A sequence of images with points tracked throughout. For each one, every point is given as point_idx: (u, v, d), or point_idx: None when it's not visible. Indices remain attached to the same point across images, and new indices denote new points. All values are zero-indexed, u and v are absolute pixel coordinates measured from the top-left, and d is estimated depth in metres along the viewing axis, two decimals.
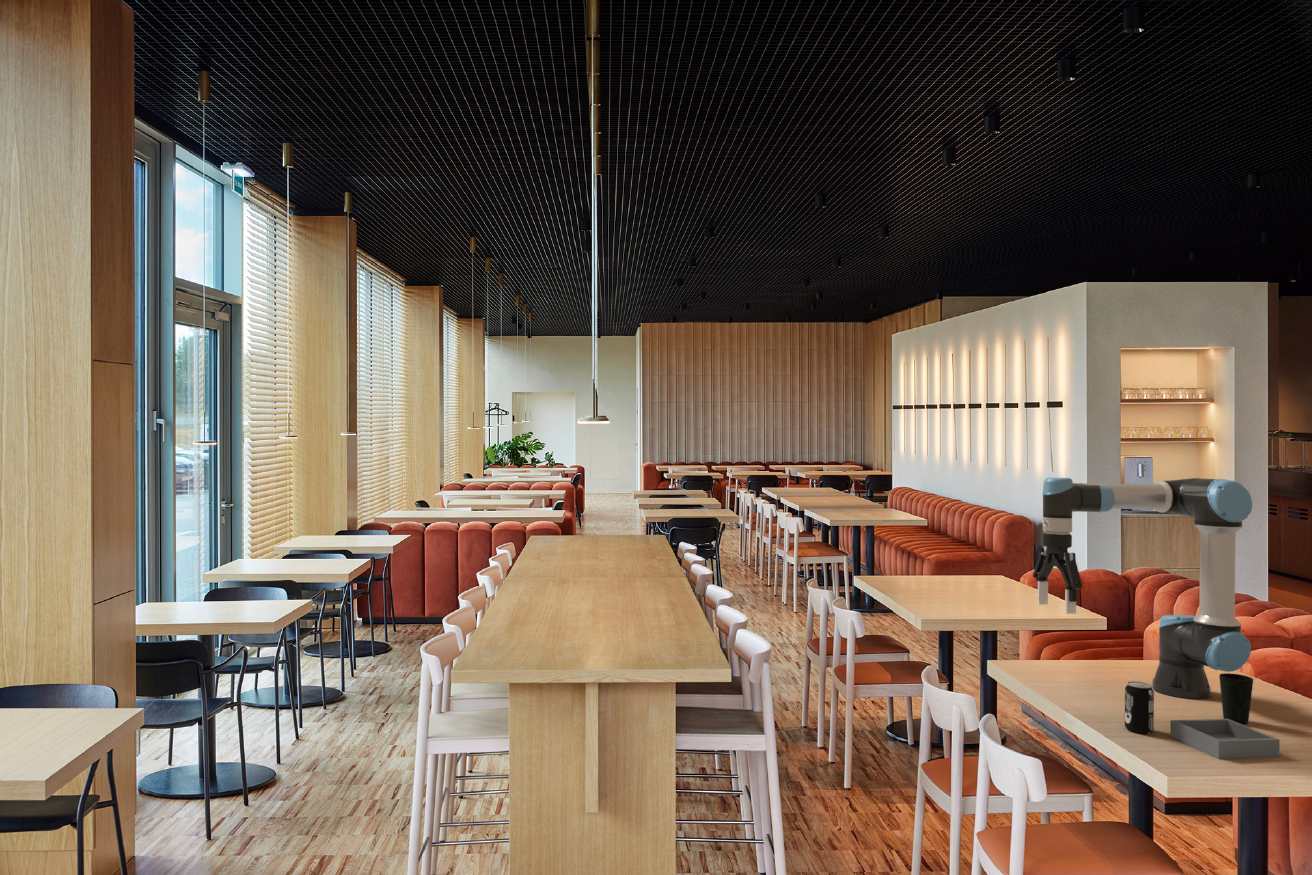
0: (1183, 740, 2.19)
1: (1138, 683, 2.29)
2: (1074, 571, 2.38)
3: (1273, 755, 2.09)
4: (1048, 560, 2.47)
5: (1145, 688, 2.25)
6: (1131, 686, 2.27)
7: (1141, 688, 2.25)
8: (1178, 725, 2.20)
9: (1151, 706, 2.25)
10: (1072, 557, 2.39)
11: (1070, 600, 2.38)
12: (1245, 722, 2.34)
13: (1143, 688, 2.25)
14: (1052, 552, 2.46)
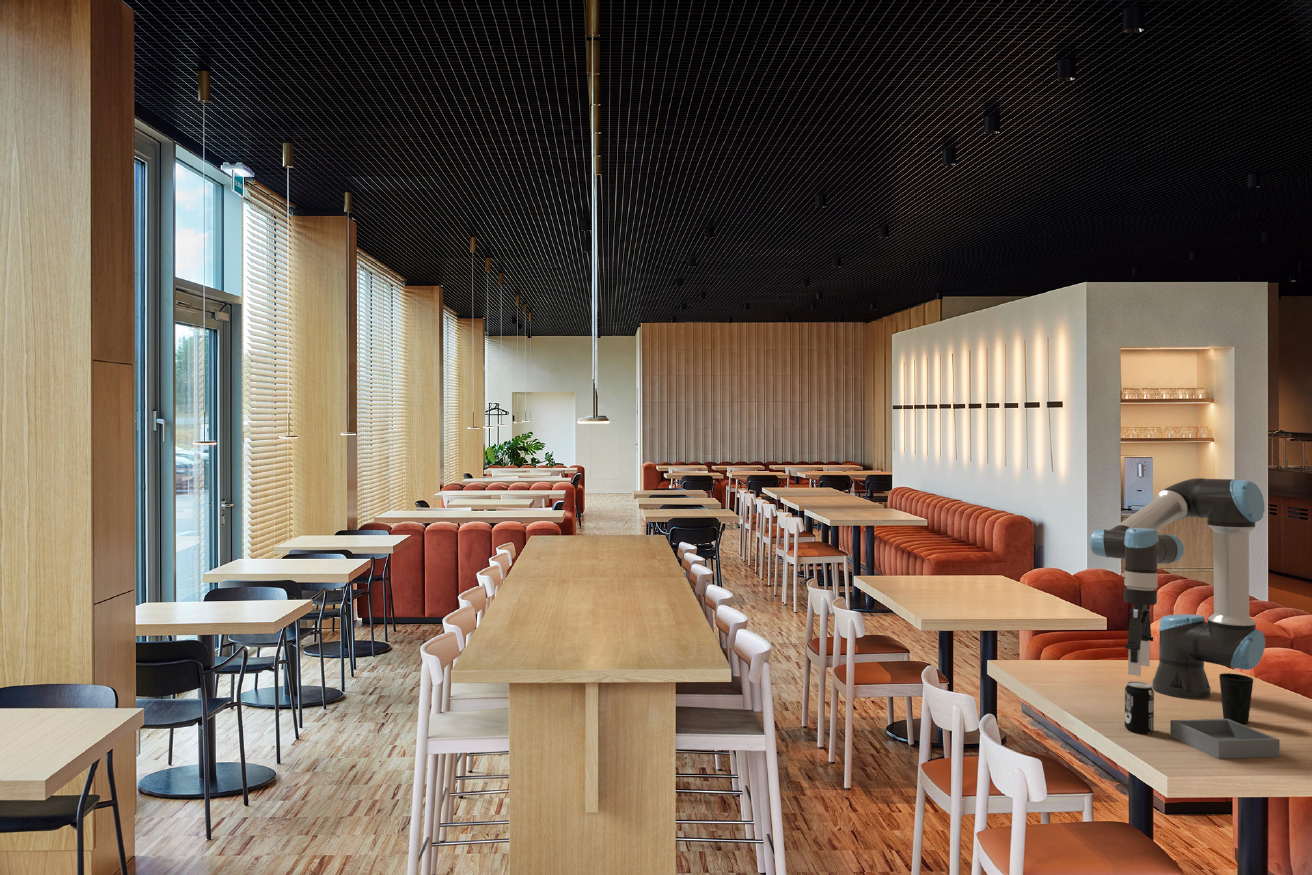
0: (1183, 740, 2.19)
1: (1138, 683, 2.29)
2: (1134, 629, 2.21)
3: (1273, 755, 2.09)
4: None
5: (1145, 688, 2.25)
6: (1131, 686, 2.27)
7: (1141, 688, 2.25)
8: (1178, 725, 2.20)
9: (1151, 706, 2.25)
10: (1136, 615, 2.22)
11: None
12: (1245, 722, 2.34)
13: (1143, 688, 2.25)
14: None
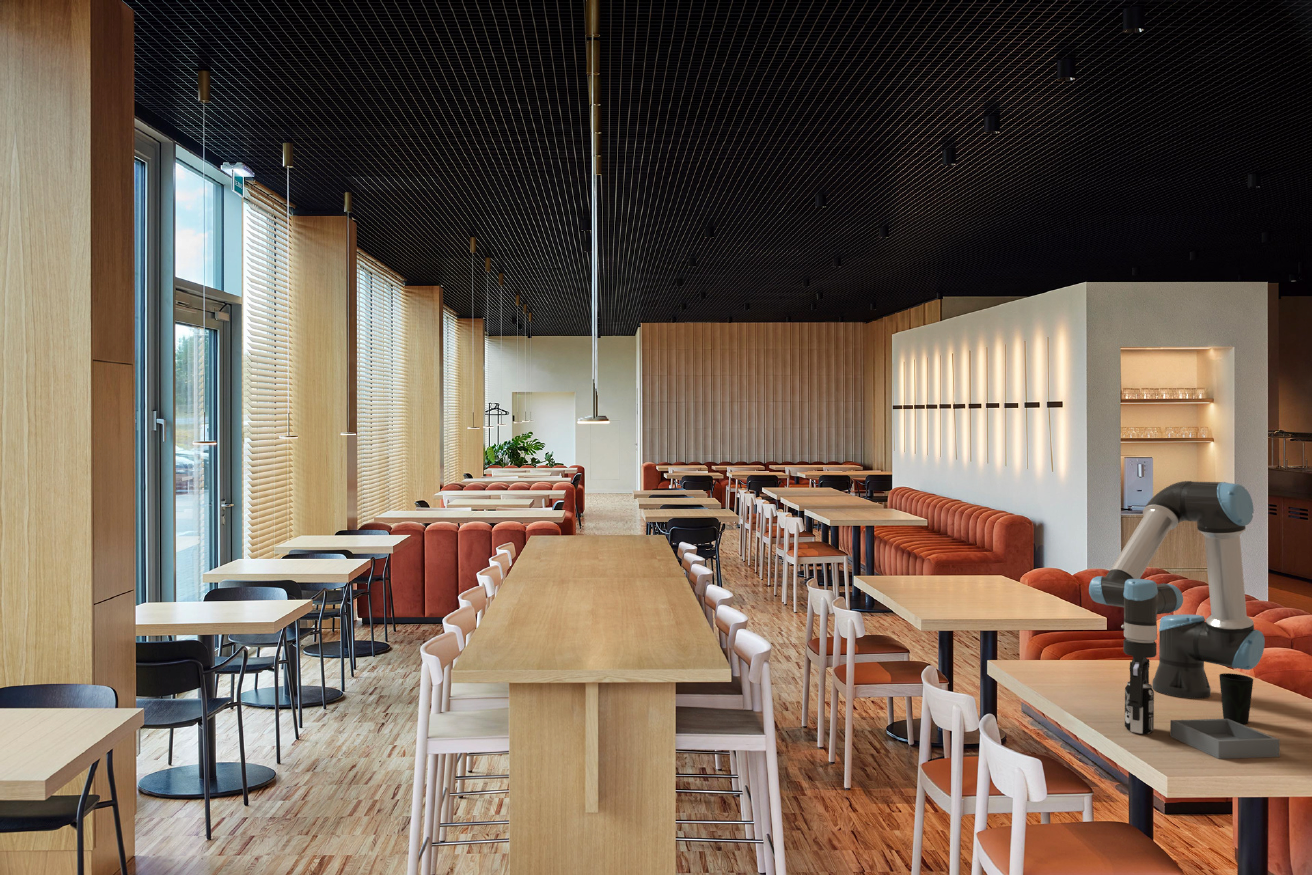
0: (1183, 740, 2.19)
1: None
2: (1135, 688, 2.22)
3: (1273, 755, 2.09)
4: None
5: (1145, 688, 2.25)
6: None
7: None
8: (1178, 725, 2.20)
9: (1151, 706, 2.25)
10: (1136, 673, 2.22)
11: None
12: (1245, 722, 2.34)
13: (1143, 688, 2.25)
14: None
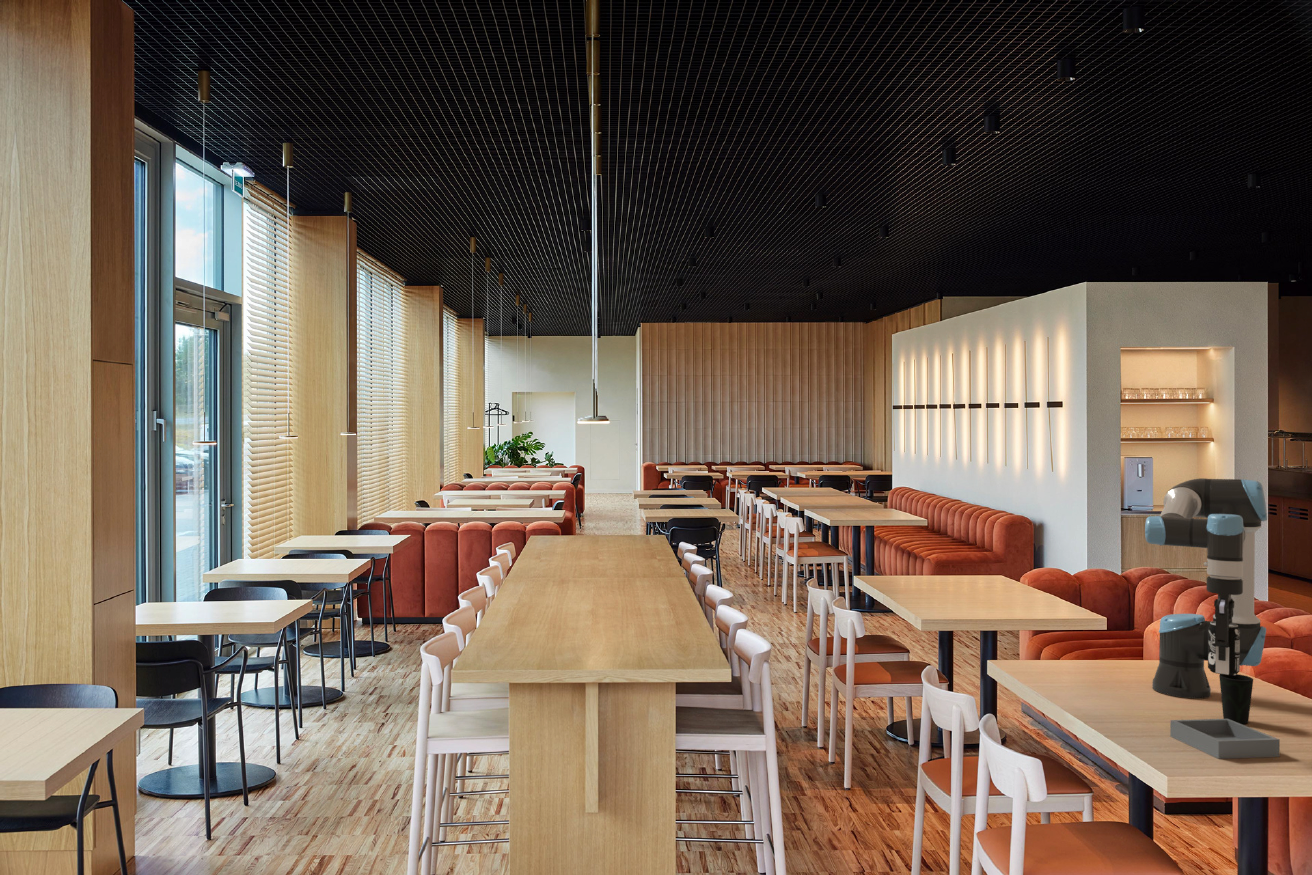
0: (1183, 740, 2.19)
1: None
2: (1221, 626, 2.11)
3: (1273, 755, 2.09)
4: None
5: (1231, 627, 2.14)
6: None
7: None
8: (1178, 725, 2.20)
9: (1237, 646, 2.14)
10: (1223, 610, 2.11)
11: None
12: (1245, 722, 2.34)
13: (1229, 627, 2.14)
14: None
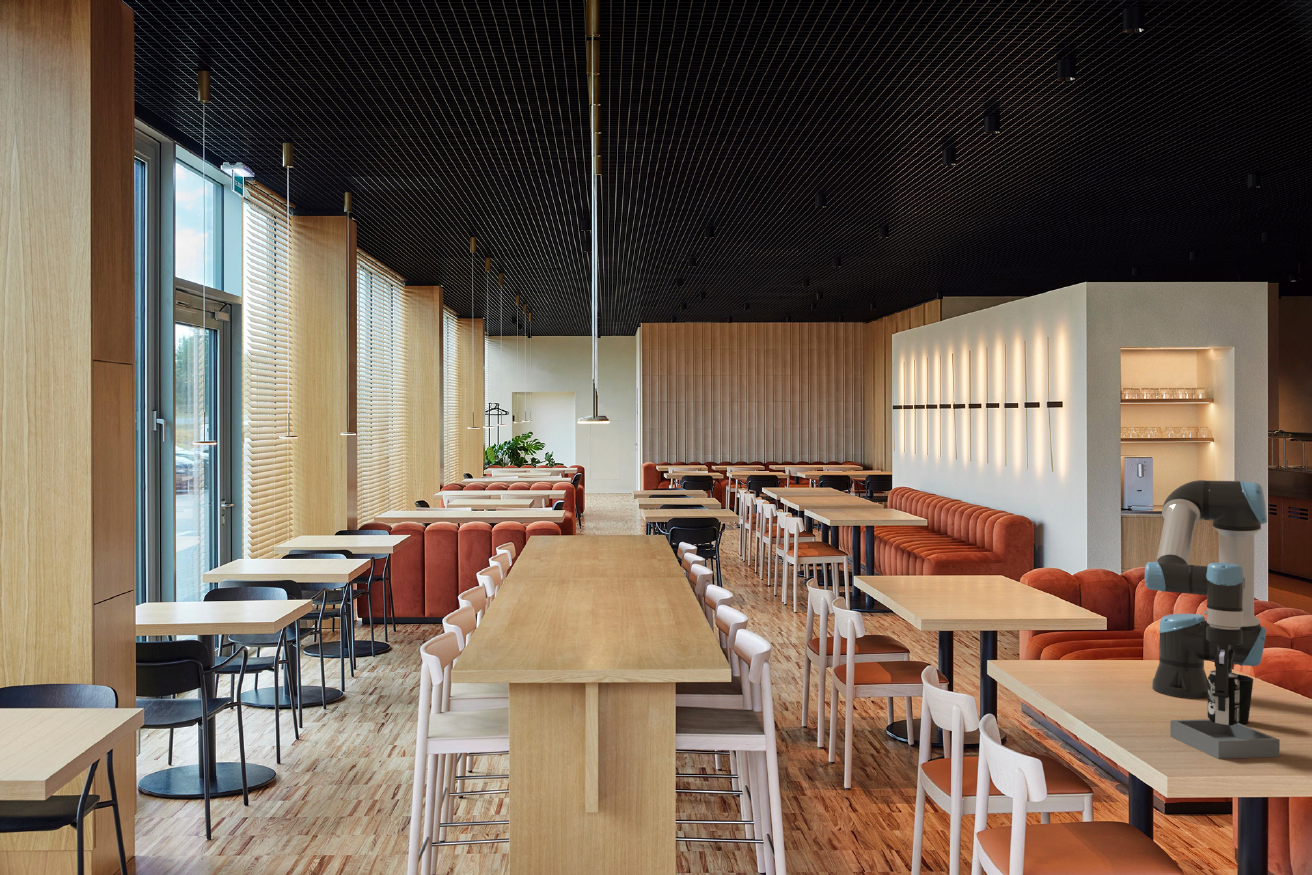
0: (1183, 740, 2.19)
1: None
2: (1221, 677, 2.11)
3: (1273, 755, 2.09)
4: None
5: (1231, 677, 2.14)
6: None
7: None
8: (1178, 725, 2.20)
9: (1237, 696, 2.13)
10: (1223, 661, 2.11)
11: (1218, 708, 2.13)
12: (1245, 722, 2.34)
13: (1229, 677, 2.14)
14: None
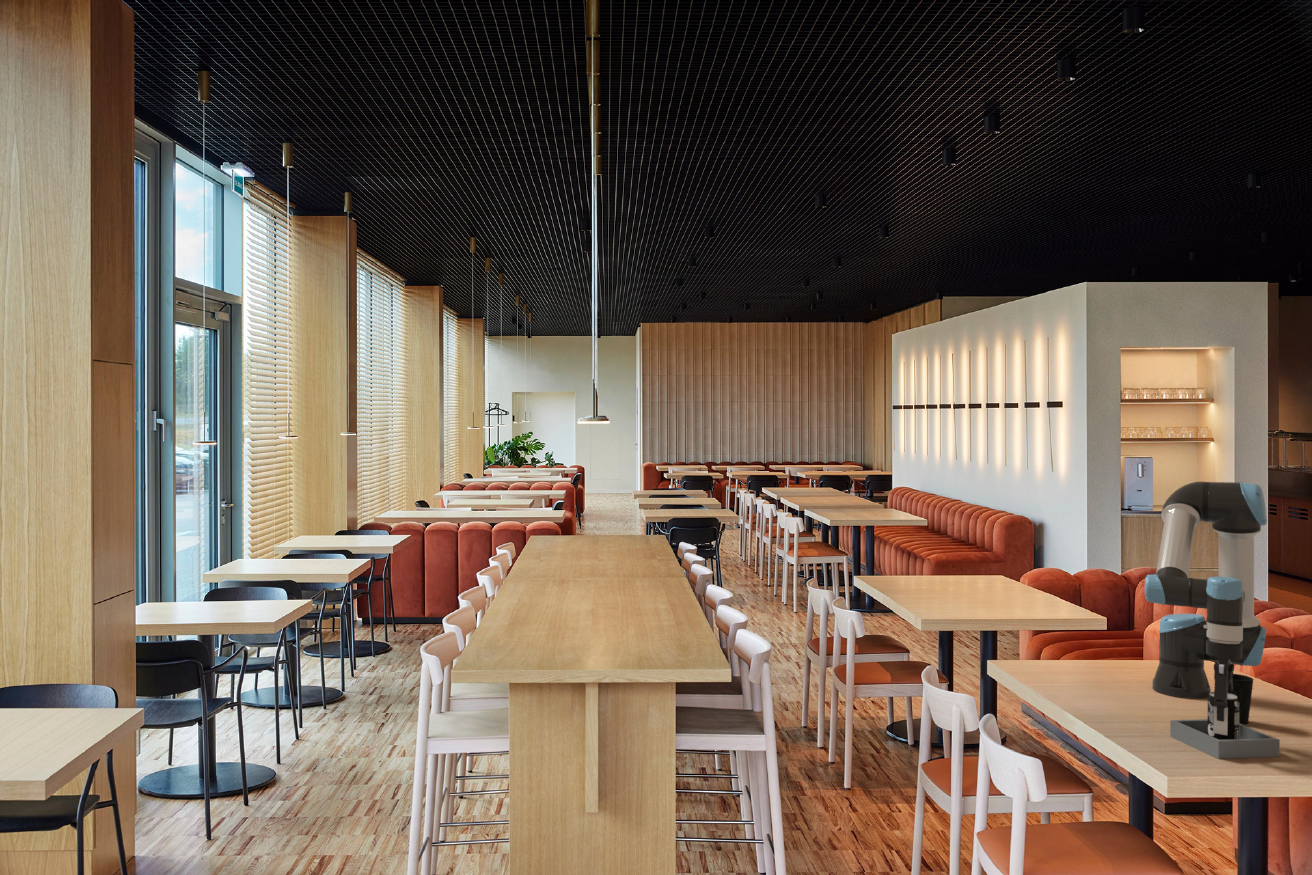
0: (1183, 740, 2.19)
1: None
2: (1220, 686, 2.10)
3: (1273, 755, 2.09)
4: None
5: (1230, 699, 2.13)
6: None
7: None
8: (1178, 725, 2.20)
9: (1237, 718, 2.13)
10: (1222, 670, 2.11)
11: (1217, 718, 2.11)
12: (1245, 722, 2.34)
13: (1228, 699, 2.13)
14: None
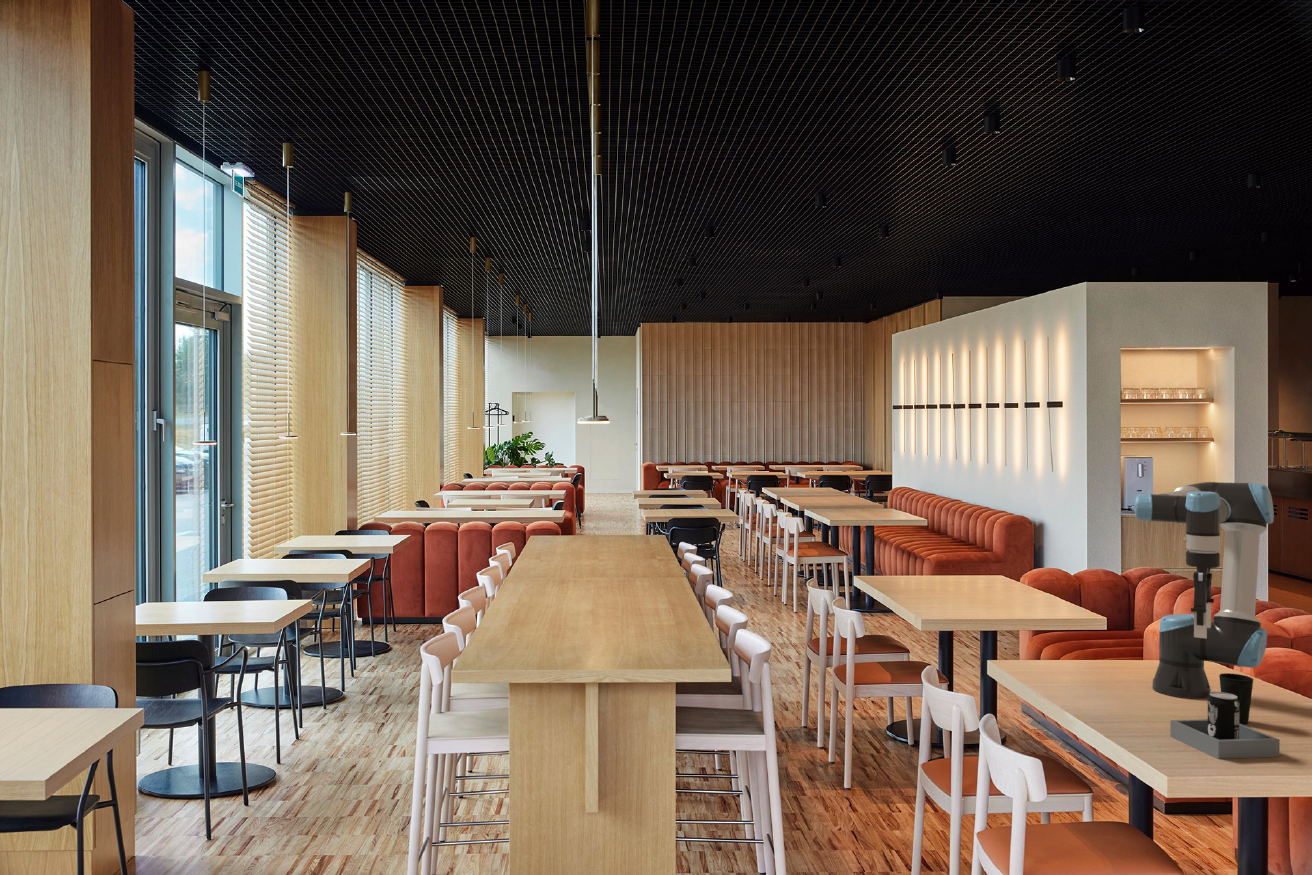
0: (1183, 740, 2.19)
1: (1221, 694, 2.18)
2: (1200, 593, 2.22)
3: (1273, 755, 2.09)
4: None
5: (1230, 699, 2.13)
6: (1215, 697, 2.15)
7: (1226, 699, 2.14)
8: (1178, 725, 2.20)
9: (1237, 718, 2.13)
10: (1201, 578, 2.23)
11: (1196, 623, 2.23)
12: (1245, 722, 2.34)
13: (1228, 699, 2.13)
14: None
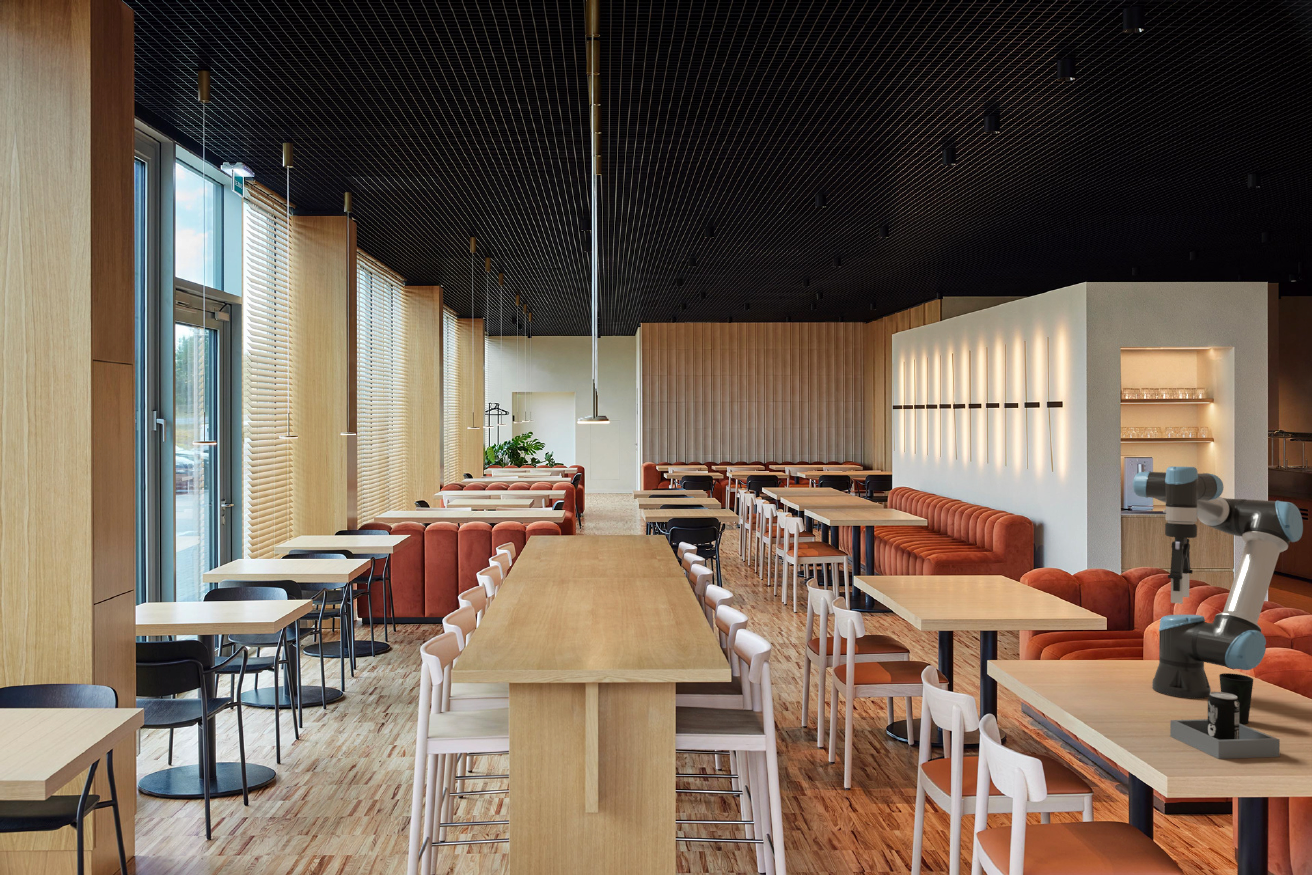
0: (1183, 740, 2.19)
1: (1221, 694, 2.18)
2: (1176, 560, 2.35)
3: (1273, 755, 2.09)
4: None
5: (1231, 699, 2.13)
6: (1215, 697, 2.15)
7: (1226, 699, 2.14)
8: (1178, 725, 2.20)
9: (1237, 718, 2.13)
10: (1178, 546, 2.36)
11: None
12: (1245, 722, 2.34)
13: (1228, 699, 2.13)
14: None
